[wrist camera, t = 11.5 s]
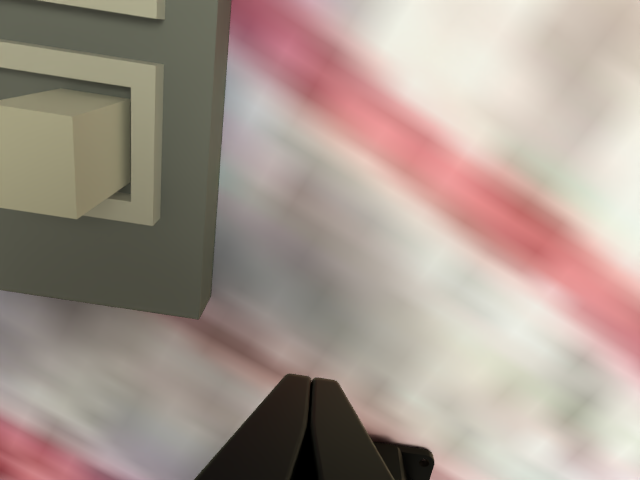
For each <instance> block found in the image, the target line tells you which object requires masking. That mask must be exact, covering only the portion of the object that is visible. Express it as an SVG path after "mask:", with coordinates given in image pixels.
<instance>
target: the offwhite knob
mask: <svg viewBox="0 0 640 480" xmlns="http://www.w3.org/2000/svg"><path fill="white" fill-rule="evenodd" d="M128 183H130V99H127V98H121V97H114V96H108V95H101V94H95V93H88V92H82V91H75V90H69V89H62V88H60V89H55V90H50V91H45V92H39V93H34V94H29V95H24V96H19V97H14V98H8V99H3V100H0V208H6V209H12V210H19V211H26V212H32V213H39V214H45V215H52V216H59V217H65V218H72V219H78V218H79V217H81V216H82V215H84V214H85V213H87V212H88V211H90V210H91V209H92V208H94V207H95V206H97V205H98V204H100V203H101V202H102V201H104V200H105V199H107V198H108V197H110V196H111V195H113V194H114V193H115V192H117V191H118V190H120V189H121V188H123V187H124V186H126V185H127V184H128Z"/></svg>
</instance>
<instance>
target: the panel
mask: <svg viewBox="0 0 640 480" xmlns="http://www.w3.org/2000/svg"><path fill="white" fill-rule="evenodd" d="M230 13H231V0H0V100H3V99H8V98H14V97H19V96H24V95H29V94H34V93H39V92H45V91H50V90H55V89H60V88H62V89H69V90H75V91H82V92H88V93H95V94H101V95H108V96H114V97H121V98H127V99H130V183H128V184H127V185H126V186H124V187H123V188H121V189H120V190H118V191H117V192H115V193H114V194H113V195H111V196H110V197H108V198H107V199H105V200H104V201H102V202H101V203H100V204H98V205H97V206H95V207H94V208H92V209H91V210H90V211H88V212H87V213H85V214H84V215H82V216H81V217H79V218H78V219H72V218H65V217H59V216H52V215H45V214H39V213H32V212H26V211H19V210H12V209H6V208H0V290H4V291H11V292H17V293H24V294H31V295H37V296H44V297H51V298H58V299H64V300H71V301H78V302H85V303H91V304H98V305H105V306H111V307H118V308H125V309H132V310H138V311H145V312H152V313H158V314H165V315H172V316H179V317H185V318H192V319H199V318H200V316H201V314H202V312H203V311H204V309H205V307H206V305H207V303H208V301H209V299H210V297H211V287H212V272H213V258H214V243H215V229H216V215H217V200H218V186H219V171H220V157H221V142H222V128H223V114H224V99H225V85H226V70H227V56H228V41H229V27H230Z"/></svg>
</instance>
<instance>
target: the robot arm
mask: <svg viewBox="0 0 640 480" xmlns="http://www.w3.org/2000/svg"><path fill="white" fill-rule="evenodd" d="M422 459H426V460H424V461H422ZM433 466H434V458H433V454H432V452H430V451H429V450H426V449H420V448H413V447H406V446H400V445H393V444H386V443H379V442H372V440H371V438H370V437H369V435H368V433H367V431H366V430H365V428H364V426H363V425H362V423H361V421H360V419H359V418H358V416H357V414H356V412H355V411H354V409H353V407H352V406H351V404H350V402H349V400H348V399H347V397H346V395H345V393H344V392H343V390H342V388H341V387H340V385H339V383H338V382H337V381H335V380H330V379H323V378H314V379H313V380H312V382H311V378H310V377H308V376H303V375H296V374H287V375H286V376H285V377H284V378H283V379H282V380H281V381H280V382H279V383H278V384H277V386H276V387H275V388H274V389H273V390H272V391H271V392H270V394H269V395H268V396H267V397H266V398H265V399H264V400H263V402H262V403H261V404H260V405H259V406H258V407H257V408H256V410H255V411H254V412H253V413H252V414H251V415H250V416H249V418H248V419H247V420H246V421H245V422H244V423H243V424H242V426H241V427H240V428H239V429H238V430H237V431H236V432H235V434H234V435H233V436H232V437H231V438H230V439H229V440H228V442H227V443H226V444H225V445H224V446H223V447H222V448H221V450H220V451H219V452H218V453H217V454H216V455H215V456H214V458H213V459H212V460H211V461H210V462H209V463H208V464H207V466H206V467H205V468H204V469H203V470H202V471H201V472H200V474H199V475H198V476H197V477H196V478H195V479H194V480H429V479H430V476H431V473H432V470H433Z"/></svg>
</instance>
